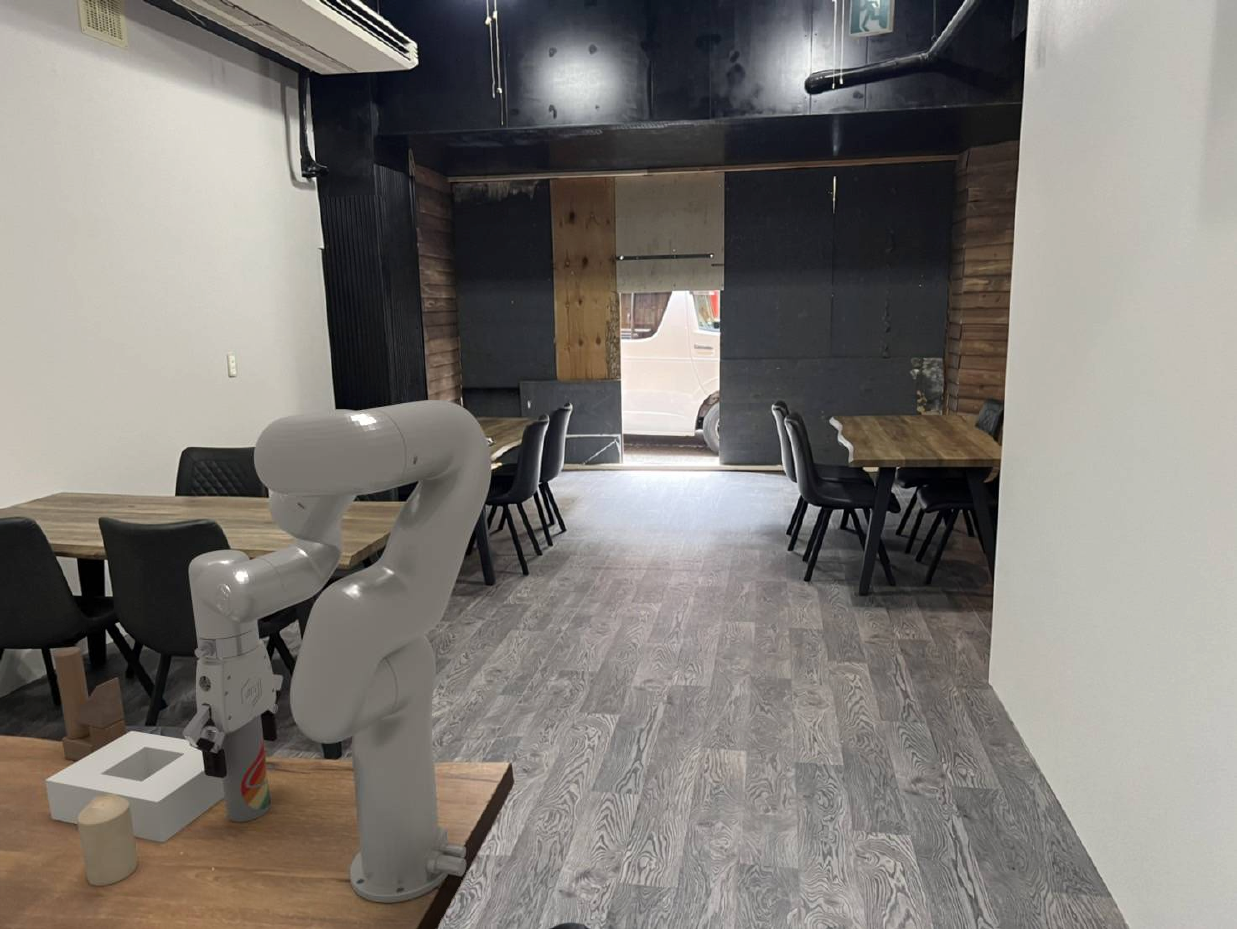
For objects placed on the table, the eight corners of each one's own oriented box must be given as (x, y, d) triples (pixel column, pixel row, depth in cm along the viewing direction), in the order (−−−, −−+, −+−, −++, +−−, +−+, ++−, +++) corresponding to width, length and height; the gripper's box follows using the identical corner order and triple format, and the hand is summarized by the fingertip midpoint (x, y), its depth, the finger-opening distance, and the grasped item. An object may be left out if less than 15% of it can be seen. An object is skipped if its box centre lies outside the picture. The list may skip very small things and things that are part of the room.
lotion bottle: (279, 806, 116) (264, 675, 112) (242, 828, 111) (226, 691, 107) (255, 794, 119) (240, 666, 115) (218, 815, 114) (201, 682, 110)
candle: (101, 892, 99) (89, 818, 97) (78, 877, 102) (66, 805, 100) (146, 866, 103) (136, 795, 102) (124, 852, 106) (113, 783, 105)
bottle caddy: (240, 785, 121) (236, 748, 120) (163, 842, 108) (157, 802, 107) (136, 766, 127) (131, 730, 126) (51, 818, 114) (45, 780, 113)
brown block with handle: (109, 771, 126) (93, 663, 123) (64, 759, 130) (46, 653, 127) (131, 759, 129) (116, 653, 126) (86, 747, 133) (70, 644, 130)
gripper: (201, 671, 101) (217, 796, 104) (294, 621, 117) (306, 730, 120) (154, 665, 103) (171, 787, 106) (252, 616, 119) (264, 723, 122)
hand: (242, 757), depth 113 cm, fingers open, 9 cm apart
